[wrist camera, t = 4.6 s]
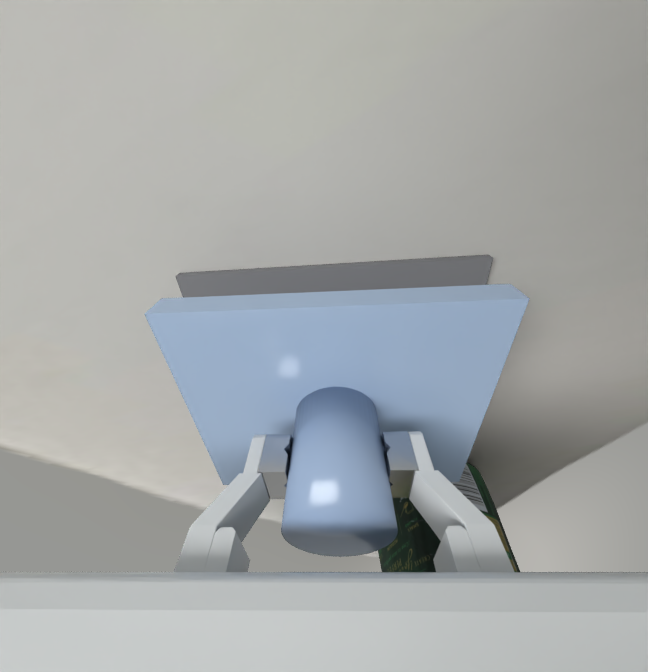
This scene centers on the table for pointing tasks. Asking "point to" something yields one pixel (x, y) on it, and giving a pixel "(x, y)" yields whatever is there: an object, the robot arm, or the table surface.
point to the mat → (339, 277)
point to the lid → (339, 390)
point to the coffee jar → (420, 540)
